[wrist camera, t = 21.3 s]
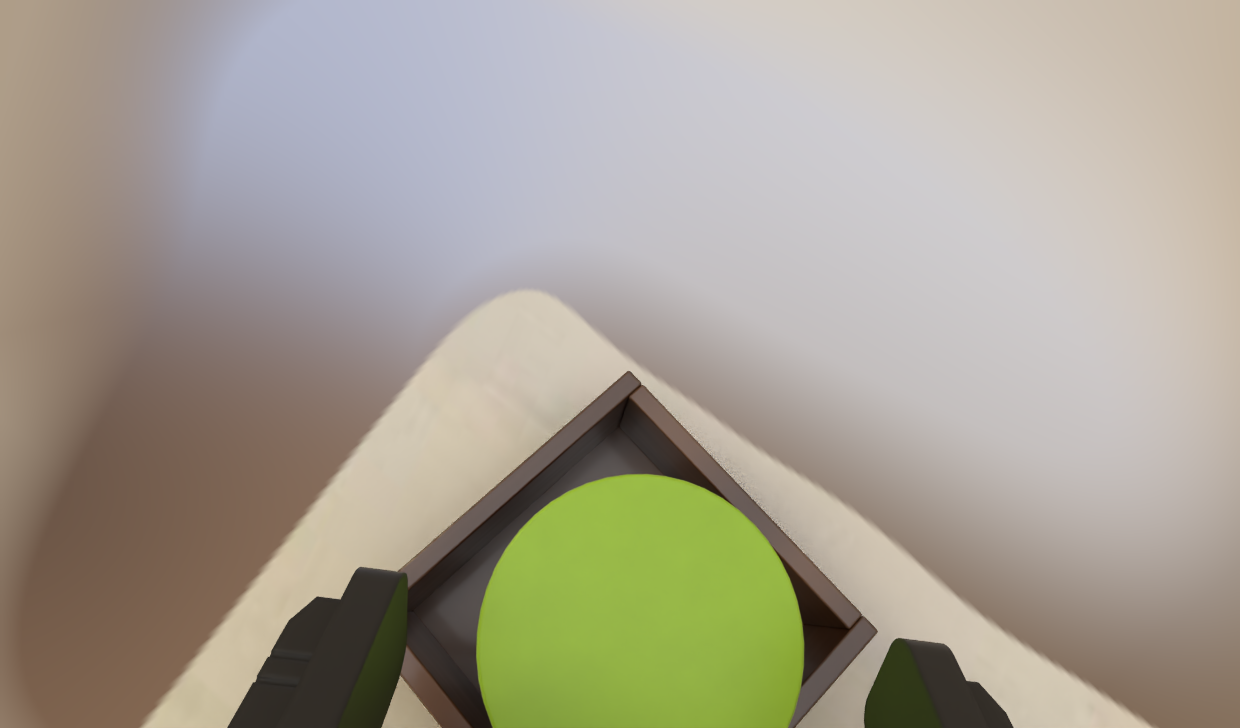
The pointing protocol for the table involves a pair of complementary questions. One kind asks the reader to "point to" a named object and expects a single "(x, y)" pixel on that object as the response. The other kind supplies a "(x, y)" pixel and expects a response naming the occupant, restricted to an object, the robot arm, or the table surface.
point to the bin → (577, 454)
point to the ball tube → (640, 615)
